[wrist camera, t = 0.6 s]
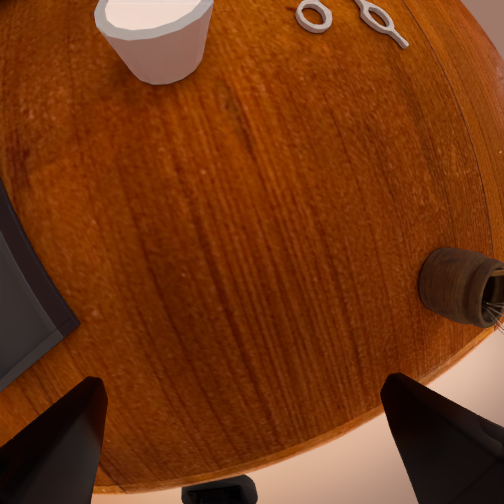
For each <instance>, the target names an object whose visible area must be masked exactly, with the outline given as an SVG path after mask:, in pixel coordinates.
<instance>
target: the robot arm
mask: <svg viewBox="0 0 504 504" xmlns="http://www.w3.org/2000/svg"><path fill="white" fill-rule="evenodd" d="M380 397H381V400H382V404H383V407H384V410H385V414H386V417H387V420H388V424H389V427H390V430H391V433H392V436H393V438H394V441H395V443H396V446H397V448H398V451H399V453H400V456H401V458H402V460H403V463H404V466H405V468H406V470H407V474H408V476H409V479H410V481H411V484H412V487H413V490H414V492H415V495H416V497H417V501H418V503H419V504H504V427H502V426H500V425H498V424H495V423H493V422H491V421H489V420H487V419H485V418H483V417H481V416H479V415H477V414H475V413H473V412H472V411H470V410H468V409H466V408H464V407H462V406H460V405H458V404H457V403H454V402H453V401H451V400H449V399H447V398H445V397H444V396H442V395H440V394H438V393H436V392H435V391H433V390H431V389H429V388H427V387H425V386H424V385H422V384H420V383H418V382H416V381H415V380H413V379H411V378H409V377H408V376H406V375H404V374H402V373H399V372H398V373H393V374H390V375H389V376H388V377H387V379H386V381H385V383H384V385H383V387H382V389H381V392H380ZM107 405H108V397H107V394H106V391H105V387H104V384H103V381H102V379H101V378H98V377H92V376H88V377H86V378H85V379H84V380H83V381H81V382H80V383H79V384H78V385H77V386H75V387H74V388H73V389H72V390H70V391H69V392H68V393H67V394H65V395H64V396H63V397H62V398H61V399H59V400H58V401H57V402H56V403H54V404H53V405H52V406H51V407H50V408H48V409H47V410H46V411H45V412H43V413H42V414H41V415H40V416H39V417H37V418H36V419H35V420H34V421H32V422H31V423H30V424H29V425H28V426H26V427H25V428H24V429H23V430H21V431H20V432H19V433H18V434H17V435H15V436H14V437H13V439H10V440H9V441H8V442H7V443H6V444H4V445H3V446H2V447H1V448H0V504H91V498H92V493H93V487H94V482H95V477H96V472H97V467H98V463H99V458H100V454H101V449H102V444H103V436H104V427H105V419H106V412H107ZM187 496H188V497H189V499H190V500H191V502H192V503H193V504H249V503H248V501H247V499H246V496H245V494H244V491H243V489H242V487H241V486H240V485H235V486H229V487H221V488H213V489H204V490H192V491H188V492H187Z"/></svg>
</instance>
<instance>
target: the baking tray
mask: <svg viewBox="0 0 504 504" xmlns="http://www.w3.org/2000/svg"><path fill="white" fill-rule="evenodd" d="M79 325H80V322H79V321H78V319H77V318H76V317H75V315H74V314H73V312H72V311H71V309H70V308H69V307H68V305H67V304H66V302H65V301H64V299H63V298H62V296H61V295H60V293H59V292H58V290H57V288H56V287H55V285H54V284H53V282H52V280H51V279H50V277H49V276H48V274H47V272H46V271H45V269H44V267H43V265H42V264H41V262H40V260H39V259H38V257H37V255H36V253H35V251H34V249H33V248H32V246H31V244H30V242H29V240H28V238H27V236H26V234H25V232H24V230H23V228H22V226H21V224H20V222H19V220H18V218H17V216H16V214H15V211H14V209H13V207H12V205H11V202H10V200H9V198H8V195H7V193H6V190H5V188H4V185H3V183H2V180H1V178H0V392H1V391H3V390H4V389H5V388H6V387H7V386H8V385H9V384H10V383H12V382H13V381H14V380H15V379H16V378H17V377H19V376H20V375H21V374H22V373H23V372H24V371H26V370H27V369H28V368H29V367H30V366H31V365H33V364H34V363H35V362H36V361H37V360H39V359H40V358H41V357H42V356H43V355H45V354H46V353H47V352H48V351H49V350H51V349H52V348H53V347H54V346H55V345H57V344H58V343H59V342H60V341H62V340H63V339H64V338H65V337H66V336H67V335H68V334H70V333H71V332H72V331H73V330H74V329H75V328H76V327H77V326H79Z"/></svg>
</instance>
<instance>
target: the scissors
mask: <svg viewBox="0 0 504 504" xmlns="http://www.w3.org/2000/svg"><path fill="white" fill-rule="evenodd" d="M355 2H356V3H357V4H358V6H359V7H360V9H361V15H360V17H361V18H362V19H363V20H364V21H365V22H366V23H367V24H368V25H370V26H371V27H372V28H374V29H375V30H377V31H378V32H381V33H386V34H389V35H390V36H391V37H392V38H394V39H395V40H396V41H397V42H398V44H399V45H400V46H401V47H402V48H403V49H405V48H406V47H408V46H409V44H408V42H407V41H406V40H404V39H403V38H402V37H401V36H400V35H399V34H398V33H397V32H396V31H395V30H394V29H393V28H394V24H393V21H392V19H391V18H390V17H389V15H388V14H387V13H386V12H385V11H384V10H382V9H381V8H379V7H378V6H376V5H374V4H371V3H368V2H367V1H365V0H355ZM304 8H313V9H316V10H317V11H318V12H319V13H320V14H321V15H322V18H323V22H324V23H323V25H316V24H312V23H310V22H308V21H307V20H306V19H305V18H304V16H303V14H302V12H301V11H302V9H304ZM368 10H369V11H374V12H375V13H377V14H378V15H379V16H381V18H382V19H383V20H384V22H385V23H386V26H387V27H385V26H381V25H379V24H378V23H377V22H376V21H375V20H374V19H373V18H372V17H371V15H370V14H369V12H368ZM295 17H296V19H297V21H298V23H299V24H300V25H301V26H302V27H304V28H305V29H306V30H308V31H310V32H313V33H323V32H324V31H326V30H327V29H328V28H329V27H330V25H331V22H332V14H331V11H330V10H329V9H327V8H326V7H325V6H324V5H322V4H321V3H320V2H319V0H304V1H302V2H301V3H300V5H299V6H298V8H297V10H296V13H295Z"/></svg>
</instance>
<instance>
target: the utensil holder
mask: <svg viewBox="0 0 504 504" xmlns="http://www.w3.org/2000/svg"><path fill="white" fill-rule="evenodd" d="M419 291H420V296H421V299H422V301H423V303H424V305H425V306H426V307H427V308H428V309H430V310H431V311H433V312H435V313H437V314H439V315H441V316H443V317H446V318H448V319H450V320H453V321H455V322H458V323H461V324H473V325H475V326H477V327H482V328H489V327H491V326H493V325H494V324H495V323H496V322H497V321H498V320H499V318H500V317H501V316H503V317H504V315H502V314H503V312H504V263H502V262H500V261H498V260H496V259H489V258H488V257H487V256H485V255H484V254H482V253H479V252H475V251H470V250H464V249H457V248H441V249H438V250H436V251H434V252H433V253H432V254H431V255H430V256H429V257H428V259H427V260H426V262H425V264H424V266H423V268H422V271H421V275H420V281H419ZM498 322H499V321H498ZM499 323H500V322H499ZM500 324H501V323H500ZM495 325H496V324H495ZM497 325H498V324H497ZM501 325H502V324H501ZM498 326H499V325H498ZM496 327H497V326H496ZM499 327H500V326H499ZM497 328H498V327H497ZM498 329H499V328H498ZM503 330H504V329H503Z"/></svg>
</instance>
